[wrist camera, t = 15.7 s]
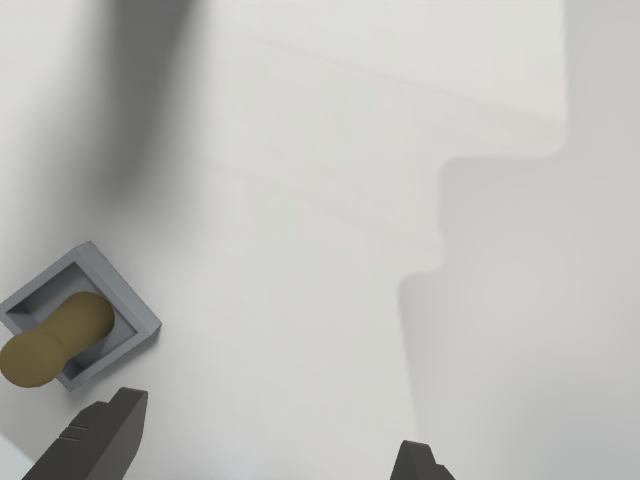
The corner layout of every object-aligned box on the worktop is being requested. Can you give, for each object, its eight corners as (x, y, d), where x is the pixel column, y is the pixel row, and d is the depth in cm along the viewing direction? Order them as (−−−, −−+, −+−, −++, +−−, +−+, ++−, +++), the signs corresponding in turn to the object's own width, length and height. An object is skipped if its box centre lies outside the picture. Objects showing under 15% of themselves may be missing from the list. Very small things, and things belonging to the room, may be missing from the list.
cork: (64, 339, 47) (-10, 398, 36) (58, 290, 46) (-21, 336, 35) (117, 341, 47) (59, 399, 36) (112, 291, 46) (51, 337, 35)
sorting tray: (11, 300, 46) (-9, 311, 43) (90, 240, 45) (74, 247, 42) (84, 376, 49) (69, 391, 46) (161, 322, 47) (151, 334, 44)
